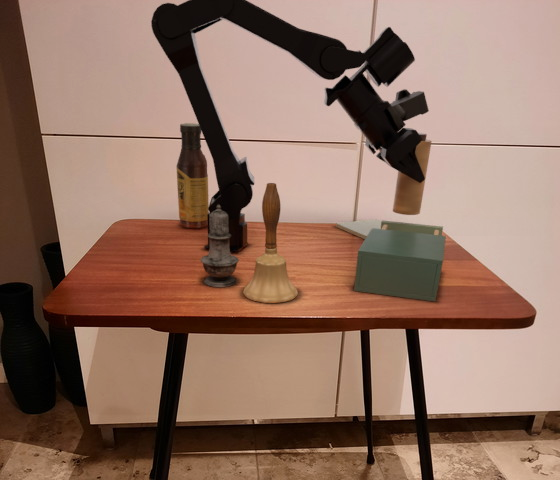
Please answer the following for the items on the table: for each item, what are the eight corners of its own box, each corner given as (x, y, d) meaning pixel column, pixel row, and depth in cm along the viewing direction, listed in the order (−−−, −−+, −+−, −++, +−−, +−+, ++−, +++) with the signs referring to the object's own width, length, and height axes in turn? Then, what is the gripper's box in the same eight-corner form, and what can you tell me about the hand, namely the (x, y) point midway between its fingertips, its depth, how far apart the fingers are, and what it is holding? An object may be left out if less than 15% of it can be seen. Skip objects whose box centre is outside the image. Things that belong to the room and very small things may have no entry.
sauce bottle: (180, 222, 118) (174, 121, 109) (209, 222, 119) (206, 122, 109) (178, 230, 113) (172, 124, 103) (209, 230, 113) (206, 125, 104)
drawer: (381, 239, 108) (384, 215, 106) (439, 246, 106) (443, 221, 103) (368, 265, 94) (372, 237, 91) (435, 273, 91) (440, 245, 89)
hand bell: (242, 302, 79) (241, 188, 71) (244, 283, 86) (244, 177, 78) (299, 304, 79) (305, 190, 71) (296, 284, 86) (301, 179, 79)
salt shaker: (233, 289, 83) (232, 209, 78) (196, 285, 84) (192, 206, 79) (242, 277, 88) (242, 201, 83) (208, 273, 89) (205, 198, 84)
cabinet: (367, 264, 97) (371, 228, 94) (439, 272, 94) (445, 235, 91) (353, 290, 85) (358, 250, 82) (435, 301, 82) (443, 260, 79)
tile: (365, 239, 111) (366, 235, 111) (335, 226, 119) (336, 223, 119) (407, 234, 116) (408, 230, 115) (376, 222, 124) (376, 219, 124)
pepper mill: (393, 214, 99) (405, 134, 93) (391, 208, 104) (402, 131, 97) (421, 215, 99) (434, 135, 92) (418, 209, 103) (430, 133, 97)
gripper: (419, 71, 82) (474, 153, 88) (391, 71, 98) (439, 139, 104) (361, 126, 85) (418, 201, 91) (343, 117, 101) (393, 181, 108)
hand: (418, 178), depth 98 cm, fingers closed on pepper mill, 5 cm apart
